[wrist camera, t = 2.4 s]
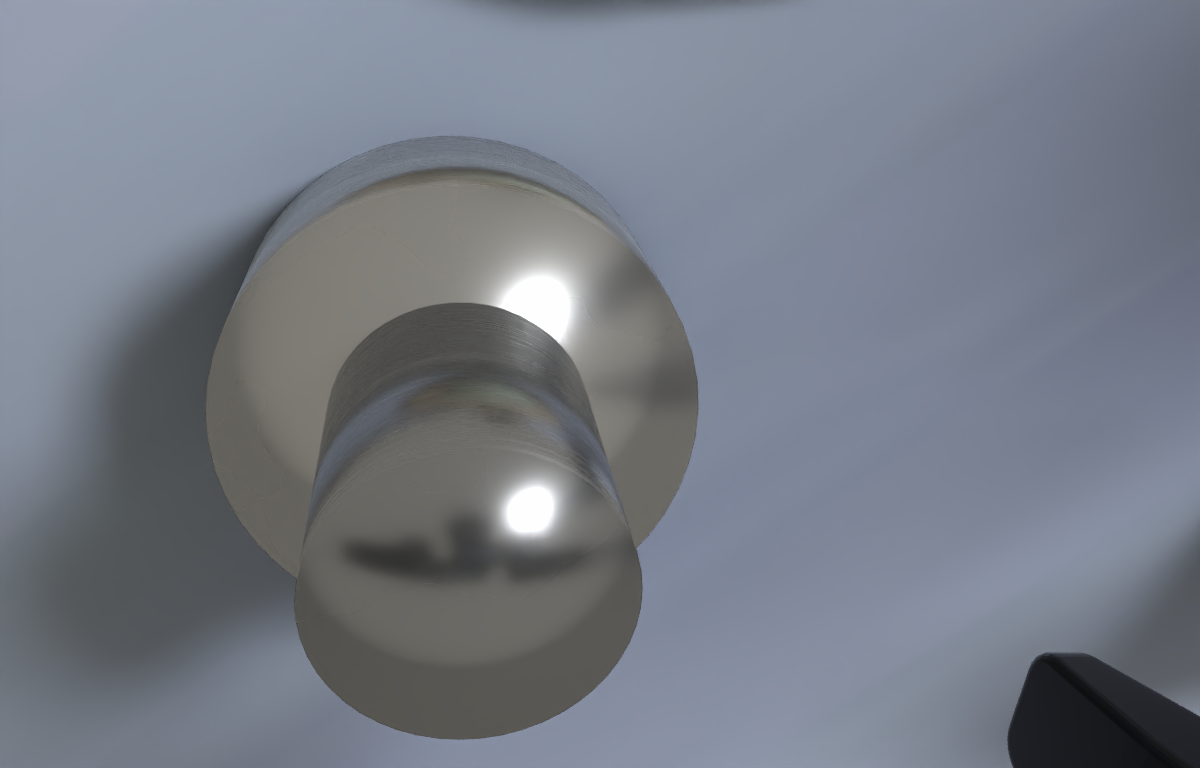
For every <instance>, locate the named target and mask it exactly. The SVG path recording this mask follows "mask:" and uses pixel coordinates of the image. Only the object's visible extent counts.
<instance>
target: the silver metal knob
mask: <svg viewBox="0 0 1200 768" xmlns="http://www.w3.org/2000/svg"><path fill="white" fill-rule="evenodd" d="M205 414H206V424H207V435H208V444H209V448H210V452H211V456H212V460H213V464H214V468H215V472H216V474H217V476H218V479H219V481H220V484H221V486H222V489H223V491H224V493H225V496H226V498H227V500H228V502H229V503H230V505H231V507H232V508H233V510H234V512H235V514H236V515H237V517H238V519H239V520H240V522H241V524H242V525H243V526H244V527H245V529H246V530H247V531H248V532H249V534H250V535H251V536H252V537H253V539H254V540H255V541H256V543H257V544H258V545H259V546H260V547H261V548H262V549H263V550H264V551H265V552H266V553H267V554H268V555H269V556H270V557H271V558H272V559H273V560H274V561H275V562H276V563H277V564H278V565H279V566H280V567H282V568H283V569H284V570H286V571H287V572H288V573H290V574H291V575H293V576H294V577H295V578H297V580H296V590H295V600H294V602H295V619H296V624H297V628H298V633H299V637H300V640H301V643H302V645H303V648H304V650H305V653H306V655H307V657H308V659H309V660H310V662H311V664H312V666H313V667H314V669H315V671H316V672H317V674H318V675H319V676H320V677H321V678H322V680H323V681H324V682H325V683H326V685H327V686H328V687H329V688H330V689H331V690H332V691H333V692H334V693H335V694H336V695H337V696H339V697H340V698H341V699H342V700H343V701H344V702H345V703H347V704H348V705H350V706H351V707H353V708H354V709H355V710H357V711H358V712H360V713H361V714H363V715H365V716H367V717H369V718H371V719H373V720H374V721H376V722H378V723H381V724H383V725H386V726H389V727H391V728H394V729H396V730H400V731H403V732H407V733H411V734H415V735H419V736H425V737H432V738H439V739H459V740H460V739H479V738H487V737H493V736H499V735H504V734H508V733H512V732H516V731H520V730H523V729H526V728H529V727H531V726H534V725H537V724H539V723H542V722H544V721H546V720H548V719H550V718H552V717H554V716H556V715H558V714H560V713H562V712H564V711H565V710H567V709H568V708H570V707H571V706H573V705H575V704H576V703H578V702H579V701H580V700H582V699H583V698H584V697H585V696H586V695H588V694H589V693H590V692H591V691H593V690H594V689H595V688H596V687H597V686H598V685H599V684H600V683H601V682H602V681H603V680H604V679H605V678H606V677H607V676H608V674H609V673H610V672H611V671H612V669H613V668H614V667H615V665H616V664H617V663H618V661H619V660H620V658H621V657H622V655H623V653H624V651H625V650H626V648H627V646H628V644H629V643H630V640H631V638H632V635H633V633H634V630H635V628H636V625H637V621H638V617H639V613H640V609H641V600H642V574H641V567H640V563H639V558H638V554H637V550H636V548H637V547H638V546H639V545H640V544H641V543H642V542H643V541H644V540H645V539H646V538H647V537H648V536H649V534H650V533H651V531H652V530H653V529H654V527H655V526H656V525H657V523H658V522H659V521H660V519H661V518H662V517H663V515H664V514H665V512H666V510H667V509H668V507H669V505H670V503H671V502H672V500H673V498H674V496H675V494H676V493H677V491H678V489H679V486H680V484H681V481H682V479H683V476H684V474H685V471H686V469H687V466H688V464H689V460H690V456H691V452H692V448H693V444H694V440H695V436H696V426H697V417H698V386H697V376H696V371H695V365H694V360H693V354H692V351H691V348H690V345H689V342H688V339H687V336H686V333H685V330H684V327H683V324H682V322H681V321H680V319H679V317H678V315H677V313H676V311H675V309H674V307H673V305H672V303H671V301H670V299H669V297H668V295H667V294H666V292H665V290H664V289H663V287H662V285H661V283H660V282H659V280H658V278H657V276H656V275H655V273H654V271H653V270H652V268H651V266H650V264H649V263H648V261H647V259H646V257H645V256H644V254H643V252H642V251H641V249H640V247H639V245H638V244H637V242H636V240H635V239H634V237H633V235H632V234H631V232H630V231H629V229H628V228H627V227H626V225H625V224H624V222H623V221H622V219H621V218H620V217H619V215H618V214H617V213H616V211H615V210H614V209H613V208H612V207H611V206H610V205H609V204H608V203H607V202H606V201H605V200H604V199H603V197H602V196H601V195H600V194H599V193H598V192H596V191H595V190H594V189H593V188H591V187H590V186H589V185H588V184H587V183H585V182H584V181H583V180H582V179H580V178H579V177H578V176H577V175H575V174H573V173H572V172H570V171H568V170H567V169H565V168H564V167H562V166H560V165H559V164H557V163H555V162H554V161H552V160H549V159H547V158H545V157H543V156H540V155H538V154H536V153H534V152H531V151H529V150H527V149H523V148H520V147H517V146H513V145H510V144H506V143H503V142H500V141H494V140H487V139H481V138H475V137H458V136H436V137H426V138H417V139H409V140H405V141H401V142H397V143H393V144H388V145H384V146H381V147H378V148H376V149H373V150H370V151H368V152H365V153H363V154H360V155H357V156H355V157H353V158H351V159H349V160H347V161H346V162H344V163H342V164H340V165H338V166H336V167H335V168H333V169H331V170H329V171H328V172H326V173H325V174H324V175H322V176H321V177H320V178H318V179H317V180H316V181H314V182H313V183H312V184H310V185H309V186H308V187H306V188H305V189H304V190H303V191H302V192H301V193H300V194H299V195H298V196H297V197H296V198H295V199H294V200H293V201H292V202H291V203H290V204H289V205H288V206H287V207H286V208H285V209H284V210H283V212H282V213H281V214H280V216H279V217H278V218H277V220H276V221H275V222H274V223H273V225H272V226H271V227H270V229H269V230H268V232H267V234H266V235H265V237H264V239H263V241H262V243H261V244H260V246H259V248H258V250H257V252H256V253H255V255H254V258H253V260H252V262H251V265H250V267H249V269H248V272H247V274H246V276H245V278H244V281H243V283H242V285H241V288H240V290H239V292H238V294H237V297H236V299H235V301H234V304H233V306H232V308H231V311H230V313H229V315H228V317H227V320H226V322H225V324H224V327H223V330H222V332H221V335H220V338H219V340H218V343H217V345H216V348H215V351H214V354H213V358H212V363H211V368H210V372H209V377H208V382H207V395H206V412H205Z"/></svg>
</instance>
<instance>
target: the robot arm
mask: <svg viewBox="0 0 1200 768" xmlns="http://www.w3.org/2000/svg"><path fill="white" fill-rule="evenodd" d="M1007 740H1008V751H1009V756H1010V760H1011V763H1012V766H1013V768H1200V716H1198V715H1196V714H1194V713H1193V712H1191V711H1189V710H1187V709H1186V708H1184V707H1182V706H1180V705H1178V704H1177V703H1175V702H1173V701H1171V700H1170V699H1168V698H1166V697H1164V696H1162V695H1161V694H1159V693H1157V692H1155V691H1154V690H1152V689H1150V688H1148V687H1146V686H1145V685H1143V684H1141V683H1139V682H1138V681H1136V680H1134V679H1132V678H1131V677H1129V676H1127V675H1125V674H1123V673H1122V672H1120V671H1118V670H1116V669H1115V668H1113V667H1111V666H1109V665H1107V664H1106V663H1104V662H1102V661H1100V660H1099V659H1097V658H1095V657H1093V656H1091V655H1088V654H1084V653H1049V652H1047V653H1044V654H1041V655H1039V656H1038V657H1036V658H1035V660H1034V661H1033V662H1032V663H1031V666H1030V668H1029V670H1028V673H1027V676H1026V679H1025V682H1024V685H1023V688H1022V691H1021V694H1020V697H1019V699H1018V702H1017V705H1016V708H1015V711H1014V714H1013V717H1012V720H1011V723H1010V726H1009V730H1008V739H1007Z"/></svg>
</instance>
